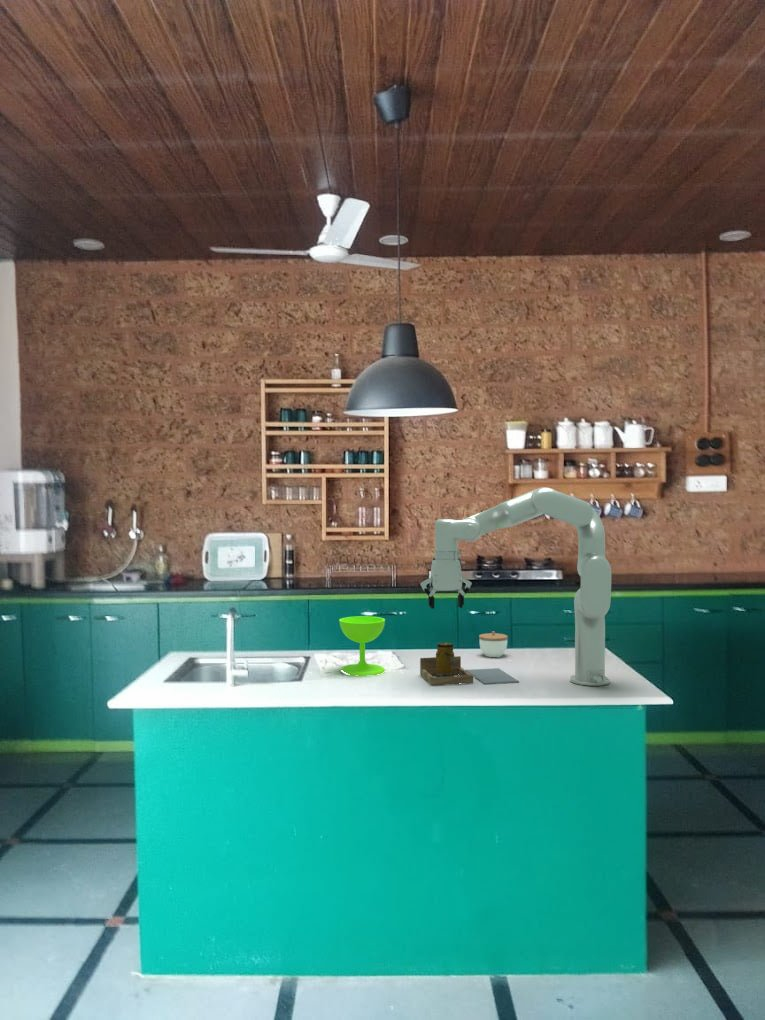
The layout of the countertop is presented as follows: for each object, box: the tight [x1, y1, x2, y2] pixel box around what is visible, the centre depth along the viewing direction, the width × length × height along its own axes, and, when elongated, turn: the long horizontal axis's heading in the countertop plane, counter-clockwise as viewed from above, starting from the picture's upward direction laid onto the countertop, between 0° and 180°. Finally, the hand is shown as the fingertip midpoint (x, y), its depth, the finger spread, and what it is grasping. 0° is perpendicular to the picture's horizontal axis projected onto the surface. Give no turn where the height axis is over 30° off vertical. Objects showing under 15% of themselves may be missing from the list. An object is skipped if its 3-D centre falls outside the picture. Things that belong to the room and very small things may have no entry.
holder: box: [419, 655, 474, 686], centre depth 282 cm, size 15×14×6 cm
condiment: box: [435, 642, 455, 677], centre depth 281 cm, size 7×8×12 cm
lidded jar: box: [478, 630, 509, 658], centre depth 320 cm, size 11×11×9 cm
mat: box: [465, 667, 520, 685], centre depth 286 cm, size 20×12×1 cm, turn 12°
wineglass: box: [338, 615, 386, 677], centre depth 295 cm, size 16×16×18 cm
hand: (446, 607), depth 281 cm, fingers open, 9 cm apart
